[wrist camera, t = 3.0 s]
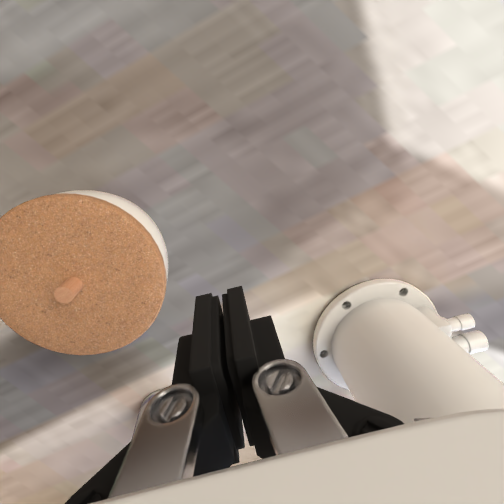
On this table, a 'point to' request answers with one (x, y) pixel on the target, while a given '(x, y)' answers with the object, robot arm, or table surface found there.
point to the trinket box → (81, 271)
